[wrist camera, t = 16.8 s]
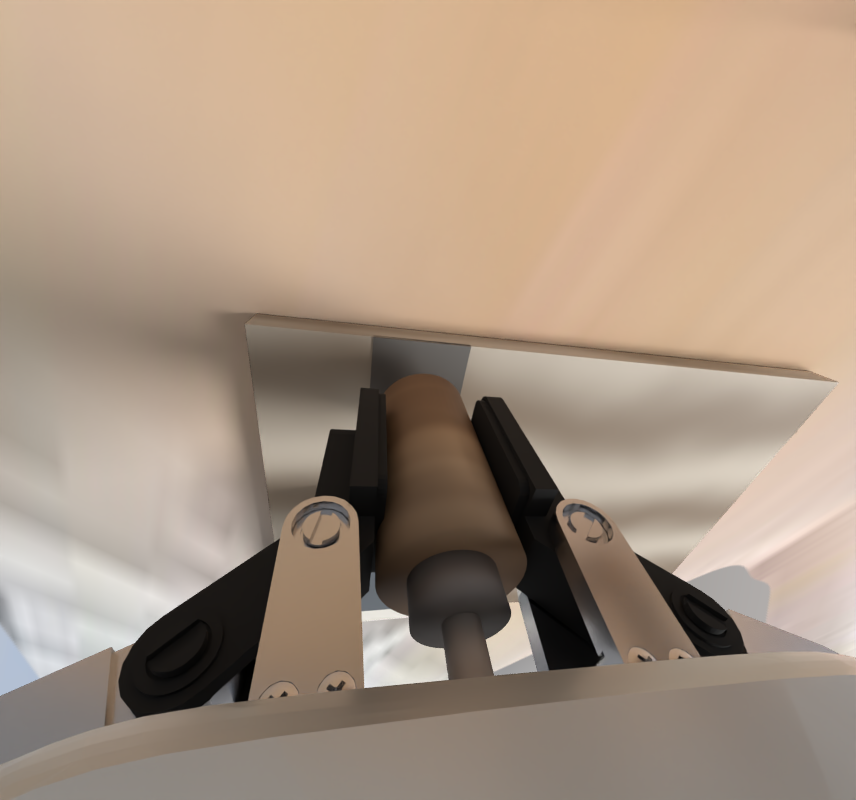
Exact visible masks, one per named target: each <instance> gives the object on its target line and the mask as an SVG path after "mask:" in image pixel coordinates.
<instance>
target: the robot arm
mask: <svg viewBox="0 0 856 800" xmlns="http://www.w3.org/2000/svg"><path fill="white" fill-rule="evenodd" d="M471 422H472V425H473V427H474V430H475V432H476V435H477V437H478V439H479V442H480V444H481V447H482V449H483V452H484V454H485V456H486V459H487V461H488V464H489V466H490V469H491V471H492V473H493V476H494V478H495V481H496V483H497V486H498V488H499V490H500V493H501V495H502V498H503V500H504V503H505V505H506V507H507V510H508V512H509V515H510V517H511V520H512V522H513V524H514V527H515V529H516V532H517V534H518V537H519V539H520V541H521V544H522V546H523V549H524V551H525V554H526V558H527V567H526V571H525V574H524V576H523V578H522V580H521V581H520V583H519V584H518V585H517V586H516V588H517V594H518V600H519V604H520V608H521V611H522V615H523V619H524V623H525V626H526V630H527V634H528V638H529V641H530V645H531V649H532V653H533V656H534V660H535V664H536V668H537V671H538V672H529V673H519V674H509V675H497V676H486V677H476V678H465V679H455V680H444V681H434V682H424V683H414V684H403V685H393V686H383V687H373V688H364V671H363V641H362V612H361V599H362V598H363V597H364V596H365V595H366V594H367V593H368V592H369V587H370V577H371V573H372V572H375V555H376V535H377V531H378V529H379V526H380V524H381V523H382V521H383V520H384V515H385V506H386V498H387V484H388V471H387V428H386V394H379V389H374V388H361V389H360V398H359V407H358V416H357V424H356V430H342V429H331V430H330V432H329V436H328V441H327V445H326V449H325V454H324V458H323V463H322V467H321V472H320V476H319V480H318V485H317V489H316V494H315V497H313V498H310V499H308V500H305V501H303V502H301V503H300V504H298V505H297V506H296V507H294V508H293V509H292V510H291V511H290V513H289V514H288V515H287V516H286V519H285V521H284V524H283V526H282V531H281V537H280V539H278V540H277V541H275V542H274V543H272V544H271V545H269V546H268V547H266V548H265V549H263V550H262V551H260V552H259V553H257V554H256V555H254V556H253V557H251V558H250V559H248V560H247V561H245V562H244V563H242V564H241V565H239V566H238V567H236V568H235V569H233V570H232V571H230V572H229V573H227V574H226V575H224V576H223V577H221V578H220V579H218V580H217V581H215V582H214V583H212V584H211V585H209V586H208V587H206V588H205V589H203V590H202V591H200V592H199V593H197V594H196V595H194V596H193V597H191V598H190V599H188V600H187V601H185V602H184V603H182V604H181V605H179V606H178V607H176V608H175V609H173V610H172V611H170V612H169V613H167V614H166V615H164V616H163V617H162V618H160V619H159V620H158V621H157V622H155V623H154V624H153V625H152V626H150V627H149V628H148V629H147V630H146V631H145V632H144V633H143V634H142V635H141V637H140V638H139V639H138V640H137V641H136V642H135V643H134V644H132V645H130V646H127V647H125V648H123V649H121V650H118V651H116V652H115V651H114V650H113V648H112V647H110V648H108V649H106V650H103V651H101V652H99V653H97V654H94V655H92V656H90V657H88V658H85V659H83V660H81V661H79V662H76V663H74V664H72V665H69V666H67V667H65V668H63V669H60V670H58V671H56V672H54V673H51V674H49V675H47V676H45V677H42V678H40V679H38V680H36V681H33V682H31V683H29V684H26V685H24V686H22V687H20V688H18V689H15V690H13V691H11V692H8V693H6V694H4V695H2V696H0V800H856V658H855V657H850V656H846V655H840V654H838V653H836V652H834V651H832V650H830V649H829V648H827V647H825V646H822V645H820V644H817V643H815V642H812V641H809V640H807V639H804V638H802V637H799V636H796V635H794V634H791V633H789V632H786V631H784V630H781V629H778V628H776V627H773V626H771V625H768V624H766V623H763V622H760V621H758V620H755V619H752V618H750V617H748V616H745V615H742V614H740V613H737V612H735V611H732V610H730V609H728V610H727V611H725V610H724V609H723V608H722V607H721V606H720V605H719V604H718V603H717V602H715V601H714V600H713V599H712V598H711V597H709V596H707V595H706V594H705V593H703V592H702V591H700V590H698V589H697V588H695V587H693V586H692V585H690V584H688V583H687V582H685V581H683V580H681V579H680V578H678V577H676V576H675V575H673V574H671V573H669V572H668V571H666V570H664V569H663V568H661V567H659V566H657V565H656V564H654V563H652V562H651V561H649V560H647V559H645V558H644V557H642V556H640V555H639V554H637V553H635V552H633V550H632V549H631V547H630V545H629V544H628V542H627V541H626V539H625V538H624V536H623V534H622V533H621V531H620V530H619V528H618V527H617V525H616V524H615V522H614V521H613V520H612V519H611V518H610V516H608V515H607V514H606V513H605V512H604V511H603V510H601V509H600V508H598V507H596V506H595V505H593V504H591V503H588V502H586V501H583V500H579V499H564V497H563V496H562V494H561V492H560V491H559V489H558V487H557V486H556V484H555V482H554V481H553V479H552V478H551V476H550V474H549V473H548V471H547V470H546V468H545V466H544V465H543V463H542V461H541V460H540V458H539V457H538V455H537V453H536V452H535V450H534V449H533V447H532V445H531V444H530V442H529V440H528V439H527V437H526V436H525V434H524V432H523V431H522V429H521V428H520V426H519V424H518V423H517V421H516V419H515V418H514V416H513V415H512V413H511V411H510V410H509V408H508V407H507V405H506V403H505V402H504V400H503V399H502V398H501V397H488V396H484V397H483V398H482V399H481V400H477V401H476V403H475V407H474V411H473V415H472V418H471Z"/></svg>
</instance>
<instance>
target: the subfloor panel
mask: <svg viewBox="0 0 856 800" xmlns="http://www.w3.org/2000/svg"><path fill="white" fill-rule="evenodd" d="M245 330H246V338H247V345H248V352H249V360H250V367H251V375H252V382H253V389H254V397H255V404H256V412H257V419H258V426H259V434H260V441H261V448H262V456H263V463H264V471H265V478H266V485H267V493H268V500H269V508H270V515H271V522H272V530H273V537H274V542H275V541H277V540H278V539H280V537H281V531H282V526H283V524H284V521H285V519H286V516H287V515H288V514H289V513H290V511H291V510H292V509H293V508H294V507H296V506H297V505H298V504H300V503H301V502H303V501H305V500H308V499H310V498H313V497H315V494H316V489H317V485H318V480H319V476H320V472H321V467H322V463H323V458H324V454H325V449H326V445H327V441H328V436H329V432H330V430H331V429H342V430H356V424H357V416H358V407H359V398H360V389H361V388H374V389H379V394H384V392H385V391H386V390H387V389H388V388H389V387H390V386H391V385H392V384H393V383H395V382H396V381H398V380H400V379H402V378H404V377H407V376H409V375H414V374H432V375H436V376H439V377H442V378H444V379H446V380H447V381H449V382H450V383H451V384H453V385H454V386H455V388H456V389H457V390H458V392H459V394H460V396H461V398H462V401H463V403H464V405H465V408H466V410H467V413H468V415H469V418H470V420H471V418H472V415H473V411H474V407H475V403H476V401H477V400H481V399H482V398H483V397H484V396H488V397H501V398H502V399H503V400H504V402H505V403H506V405H507V407H508V408H509V410H510V411H511V413H512V415H513V416H514V418H515V419H516V421H517V423H518V424H519V426H520V428H521V429H522V431H523V432H524V434H525V436H526V437H527V439H528V440H529V442H530V444H531V445H532V447H533V449H534V450H535V452H536V453H537V455H538V457H539V458H540V460H541V461H542V463H543V465H544V466H545V468H546V470H547V471H548V473H549V474H550V476H551V478H552V479H553V481H554V482H555V484H556V486H557V487H558V489H559V491H560V492H561V494H562V496H563V497H564V499H579V500H583V501H586V502H588V503H591V504H593V505H595V506H596V507H598V508H600V509H601V510H603V511H604V512H605V513H606V514H607V515H608V516H610V518H611V519H612V520H613V521H614V522H615V524H616V525H617V527H618V528H619V530H620V531H621V533H622V534H623V536H624V538H625V539H626V541H627V542H628V544H629V545H630V547H631V549H632V550H633V552H635V553H637V554H639V555H640V556H642V557H644V558H645V559H647V560H649V561H651V562H652V563H654V564H656V565H657V566H659V567H661V568H663V569H664V570H666V571H668V572H669V573H671V574H672V573H673V572H674V571H675V570H676V569H677V567H678V566H679V565H680V564H681V563H682V562H683V561H684V559H685V558H686V557H687V556H688V555H689V554H690V553H691V551H692V550H693V549H694V548H695V547H696V546H697V545H698V543H699V542H700V541H701V540H702V539H703V538H704V537H705V535H706V534H707V533H708V532H709V531H710V530H711V529H712V527H713V526H714V525H715V524H716V523H717V522H718V520H719V519H720V518H721V517H722V516H723V515H724V514H725V512H726V511H727V510H728V509H729V508H730V507H731V506H732V504H733V503H734V502H735V501H736V500H737V499H738V498H739V496H740V495H741V494H742V493H743V492H744V491H745V490H746V488H747V487H748V486H749V485H750V484H751V483H752V482H753V480H754V479H755V478H756V477H757V476H758V475H759V474H760V472H761V471H762V470H763V469H764V468H765V467H766V466H767V464H768V463H769V462H770V461H771V460H772V459H773V458H774V456H775V455H776V454H777V453H778V452H779V451H780V450H781V448H782V447H783V446H784V445H785V444H786V443H787V442H788V440H789V439H790V438H791V437H792V436H793V435H794V434H795V432H796V431H797V430H798V429H799V428H800V427H801V426H802V424H803V423H804V422H805V421H806V420H807V419H808V418H809V416H810V415H811V414H812V413H813V412H814V411H815V410H816V408H817V407H818V406H819V405H820V404H821V403H822V402H823V400H824V399H825V398H826V397H827V396H828V395H829V394H830V392H831V391H832V390H833V389H834V388H835V387H836V386H837V384H838V383H839V382H836V381H834V380H831V379H829V378H826V377H824V376H821V375H819V374H816V373H813V372H811V371H802V370H792V369H783V368H773V367H763V366H754V365H744V364H735V363H725V362H715V361H706V360H696V359H687V358H677V357H667V356H658V355H648V354H639V353H629V352H620V351H610V350H600V349H591V348H581V347H572V346H562V345H552V344H543V343H533V342H524V341H514V340H504V339H495V338H485V337H476V336H466V335H457V334H447V333H437V332H428V331H418V330H409V329H399V328H389V327H380V326H370V325H361V324H351V323H341V322H332V321H322V320H313V319H303V318H294V317H284V316H274V315H265V314H256V315H254V316H253V317H252V318H251V319H250V320H249V321H248V322H246V323H245ZM506 597H507V600H508V602H519V600H518V594H517V588H515V589H513V590H512V591H511V592H510V593H509V594H508V595H507V596H506Z"/></svg>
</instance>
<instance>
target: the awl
mask: <svg viewBox="0 0 856 800" xmlns="http://www.w3.org/2000/svg"><path fill="white" fill-rule="evenodd" d="M384 394H386V428H387V471H388V484H387V498H386V506H385V515H384V520H383V521H382V523H381V524H380V526H379V529H378V531H377V535H376V555H375V589H376V593H377V595H378V597H379V599H380V600H381V601H382V602H383V603H384V604H385V605H386V606H387V607H389V608H390V609H392V610H394V611H396V612H398V613H400V614H403V615H406V616H409V628H410V634H411V636H412V637H413V639H414V640H416V641H417V642H419V643H420V644H423V645H426V646H429V647H435V648H444V650H445V657H446V664H447V671H448V678H449V680H455V679H465V678H476V677H486V676H494V674H493V669H492V665H491V661H490V657H489V652H488V648H487V644H486V640H485V639H487V638H489V637H491V636H493V635H495V634H496V633H498V632H499V631H500V630H502V629H503V628H504V627H505V626H506V624H507V623H508V621H509V620H510V617H511V609H510V606H509V603H508V600H507V597H506V596H507V595H508V594H509V593H510V592H511V591H512V590H513V589H515V588H516V586H517V585H518V584H519V583H520V581H521V580H522V578H523V576H524V574H525V571H526V567H527V558H526V554H525V551H524V549H523V546H522V544H521V541H520V539H519V537H518V534H517V532H516V529H515V527H514V524H513V522H512V520H511V517H510V515H509V512H508V510H507V507H506V505H505V503H504V500H503V498H502V495H501V493H500V490H499V488H498V486H497V483H496V481H495V478H494V476H493V473H492V471H491V469H490V466H489V464H488V461H487V459H486V456H485V454H484V452H483V449H482V447H481V444H480V442H479V439H478V437H477V435H476V432H475V430H474V427H473V425H472V422H471V420H470V418H469V415H468V413H467V410H466V408H465V405H464V403H463V401H462V398H461V396H460V394H459V392H458V390H457V389H456V388H455V386H454V385H453V384H451V383H450V382H449V381H447V380H446V379H444V378H442V377H439V376H436V375H432V374H414V375H409V376H407V377H404V378H402V379H400V380H398V381H396V382H395V383H393V384H392V385H391V386H390V387H389V388H388V389H387V390H386V391H385V392H384Z"/></svg>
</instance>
